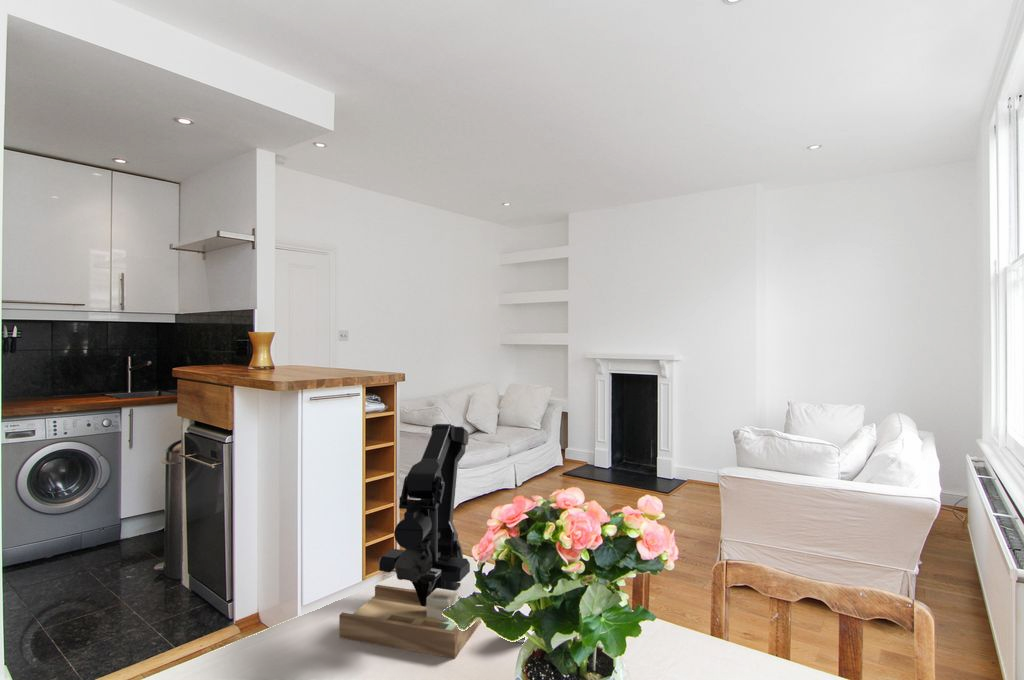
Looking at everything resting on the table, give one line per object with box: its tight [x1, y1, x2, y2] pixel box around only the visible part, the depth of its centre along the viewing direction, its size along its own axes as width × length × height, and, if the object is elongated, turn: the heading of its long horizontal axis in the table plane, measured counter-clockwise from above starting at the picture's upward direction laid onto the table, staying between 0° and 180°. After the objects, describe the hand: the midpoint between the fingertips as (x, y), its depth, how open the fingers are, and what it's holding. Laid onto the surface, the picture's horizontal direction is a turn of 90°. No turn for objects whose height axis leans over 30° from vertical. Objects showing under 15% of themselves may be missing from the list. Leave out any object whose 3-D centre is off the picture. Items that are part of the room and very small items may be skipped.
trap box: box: [338, 584, 482, 659], centre depth 111 cm, size 14×25×4 cm, turn 72°
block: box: [427, 588, 459, 621], centre depth 112 cm, size 4×5×4 cm
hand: (424, 605), depth 113 cm, fingers closed
